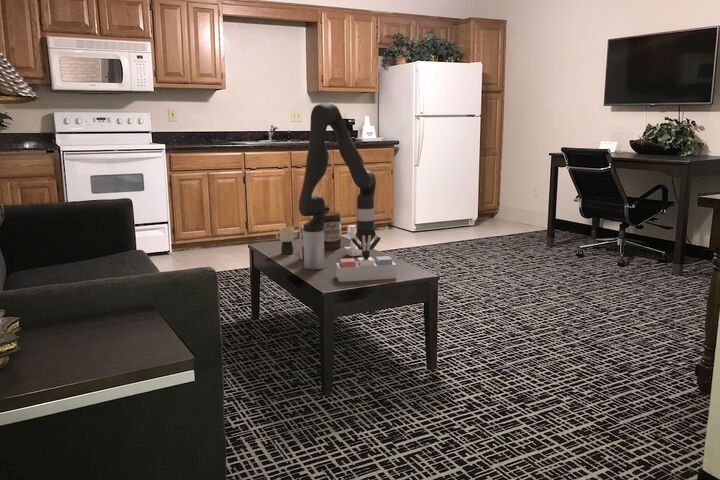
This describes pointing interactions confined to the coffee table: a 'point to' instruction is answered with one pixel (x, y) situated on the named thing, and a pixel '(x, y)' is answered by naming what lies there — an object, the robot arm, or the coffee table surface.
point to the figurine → (353, 248)
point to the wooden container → (332, 229)
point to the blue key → (383, 260)
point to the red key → (347, 262)
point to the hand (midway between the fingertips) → (365, 259)
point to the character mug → (286, 239)
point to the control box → (365, 272)
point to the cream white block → (365, 261)
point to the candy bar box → (301, 242)
